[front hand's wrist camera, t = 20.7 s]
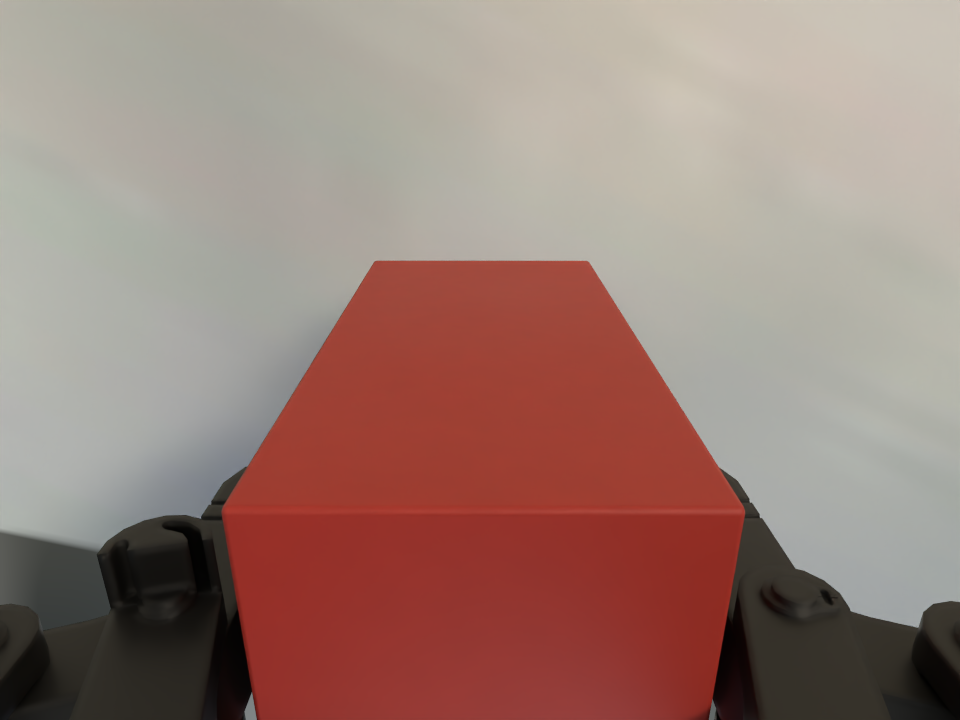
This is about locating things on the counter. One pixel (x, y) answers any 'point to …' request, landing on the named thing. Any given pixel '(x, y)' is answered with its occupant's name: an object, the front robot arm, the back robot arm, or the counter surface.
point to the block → (482, 513)
